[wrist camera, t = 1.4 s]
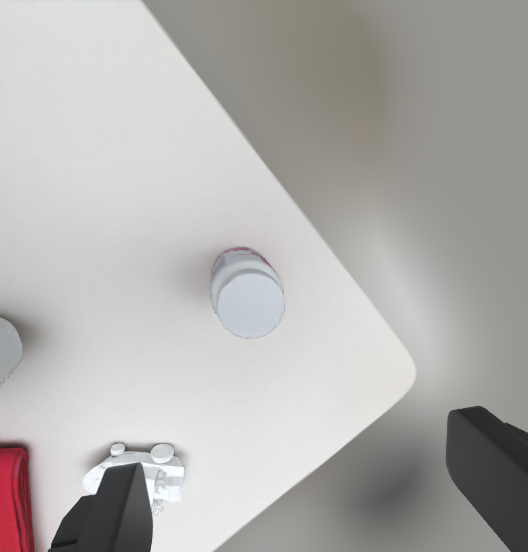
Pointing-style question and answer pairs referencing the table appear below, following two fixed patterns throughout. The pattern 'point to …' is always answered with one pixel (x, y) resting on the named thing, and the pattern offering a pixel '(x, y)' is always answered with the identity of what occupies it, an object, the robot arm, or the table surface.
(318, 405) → the table surface
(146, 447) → the table surface
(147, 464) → the toy car
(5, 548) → the dish towel
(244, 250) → the pill bottle
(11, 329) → the soap bottle
